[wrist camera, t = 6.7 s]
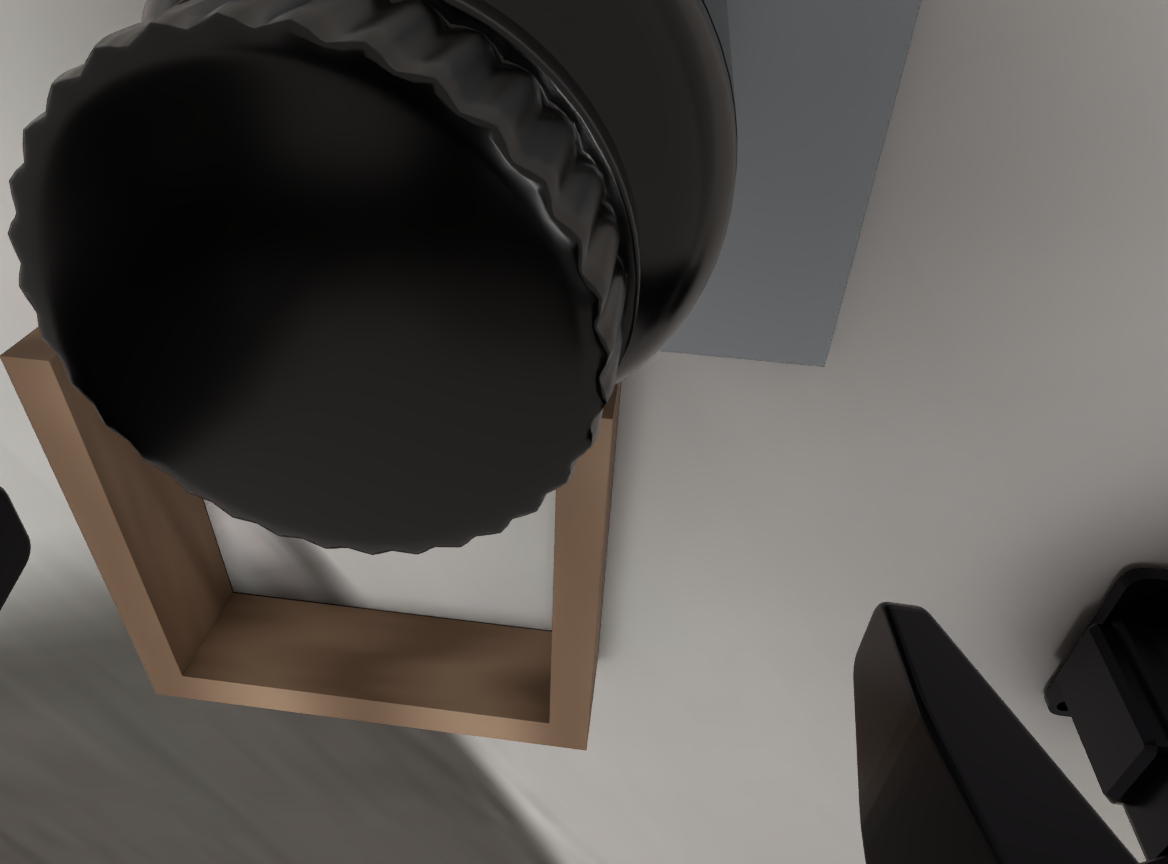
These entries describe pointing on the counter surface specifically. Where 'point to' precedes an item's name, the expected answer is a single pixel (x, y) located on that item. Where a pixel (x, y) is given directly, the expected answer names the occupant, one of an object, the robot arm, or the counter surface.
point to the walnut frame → (312, 630)
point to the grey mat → (798, 172)
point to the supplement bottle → (376, 244)
